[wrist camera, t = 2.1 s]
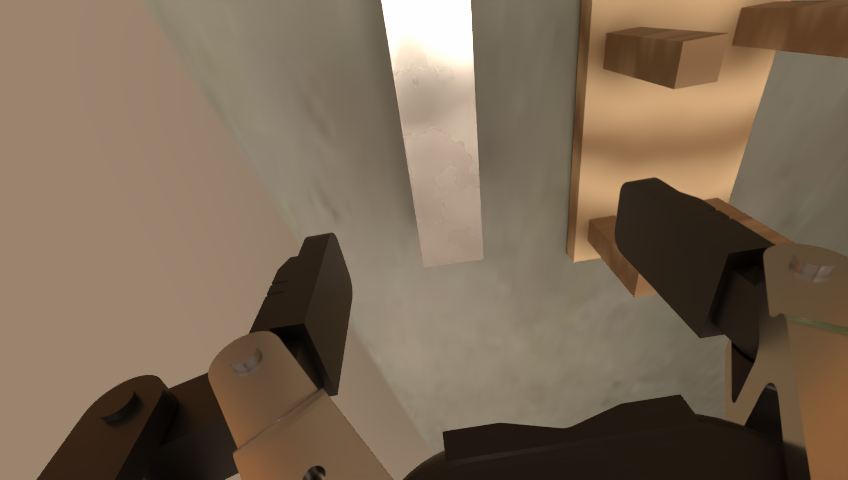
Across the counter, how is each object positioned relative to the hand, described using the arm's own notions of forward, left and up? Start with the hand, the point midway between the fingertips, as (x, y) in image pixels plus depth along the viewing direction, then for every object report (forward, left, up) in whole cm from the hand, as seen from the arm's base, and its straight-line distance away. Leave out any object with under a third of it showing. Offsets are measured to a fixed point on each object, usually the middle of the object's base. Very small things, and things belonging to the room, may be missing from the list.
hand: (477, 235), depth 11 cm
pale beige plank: (0, 0, -18) cm, 18 cm away
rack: (+5, +16, -17) cm, 24 cm away
